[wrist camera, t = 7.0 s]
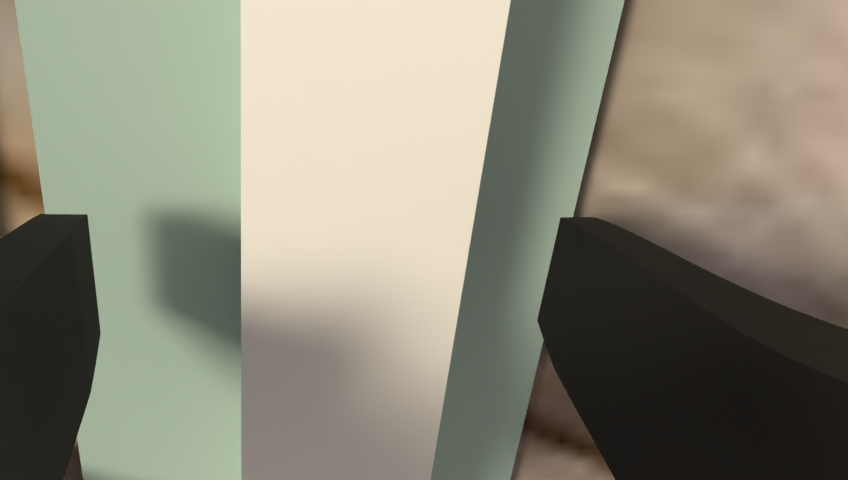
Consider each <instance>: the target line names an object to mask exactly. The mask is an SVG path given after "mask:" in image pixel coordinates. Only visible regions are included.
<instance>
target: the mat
mask: <svg viewBox="0 0 848 480" xmlns="http://www.w3.org/2000/svg"><path fill="white" fill-rule="evenodd" d="M624 1H625V0H511V2H510V8H509V14H508V20H507V26H506V32H505V38H504V44H503V50H502V56H501V62H500V67H499V73H498V79H497V85H496V91H495V97H494V103H493V109H492V115H491V121H490V127H489V133H488V139H487V145H486V151H485V157H484V163H483V169H482V175H481V181H480V187H479V193H478V199H477V205H476V211H475V217H474V223H473V229H472V235H471V241H470V247H469V253H468V259H467V265H466V271H465V277H464V283H463V289H462V295H461V301H460V307H459V313H458V319H457V325H456V331H455V337H454V343H453V349H452V355H451V361H450V367H449V373H448V379H447V385H446V391H445V396H444V402H443V408H442V414H441V420H440V426H439V432H438V438H437V444H436V450H435V456H434V462H433V468H432V474H431V480H510V479H511V475H512V471H513V467H514V462H515V458H516V454H517V450H518V446H519V441H520V437H521V433H522V429H523V425H524V421H525V416H526V412H527V408H528V404H529V400H530V395H531V391H532V387H533V383H534V379H535V374H536V370H537V366H538V362H539V358H540V353H541V349H542V345H543V341H544V339H543V336H542V333H541V330H540V327H539V324H538V321H537V319H538V314H539V310H540V305H541V301H542V297H543V292H544V288H545V284H546V279H547V275H548V270H549V266H550V262H551V257H552V253H553V249H554V244H555V240H556V235H557V231H558V227H559V222H560V218H561V217H573V215H574V211H575V207H576V202H577V198H578V194H579V190H580V186H581V181H582V177H583V173H584V169H585V165H586V160H587V156H588V152H589V148H590V144H591V139H592V135H593V131H594V127H595V123H596V119H597V114H598V110H599V106H600V102H601V98H602V93H603V89H604V85H605V81H606V77H607V72H608V68H609V64H610V60H611V56H612V51H613V47H614V43H615V39H616V35H617V30H618V26H619V22H620V18H621V14H622V9H623V5H624ZM15 7H16V14H17V21H18V28H19V35H20V42H21V49H22V56H23V63H24V70H25V77H26V84H27V91H28V98H29V105H30V112H31V119H32V126H33V133H34V140H35V147H36V154H37V161H38V168H39V175H40V182H41V189H42V196H43V203H44V210H45V214H87V216H88V225H89V233H90V242H91V251H92V260H93V269H94V278H95V287H96V296H97V305H98V314H99V323H100V332H101V335H100V341H99V347H98V354H97V360H96V366H95V372H94V378H93V383H92V389H91V393H90V396H89V400H88V403H87V406H86V409H85V413H84V416H83V419H82V422H81V425H80V428H79V431H78V435H77V441H78V448H79V455H80V462H81V469H82V476H83V480H241V0H15Z"/></svg>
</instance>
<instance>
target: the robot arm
mask: <svg viewBox="0 0 848 480" xmlns="http://www.w3.org/2000/svg"><path fill="white" fill-rule="evenodd" d="M537 321H538V324H539V327H540V330H541V333H542V336H543V339H544V342H545V345H546V348H547V350H548V353H549V355H550V358H551V361H552V363H553V366H554V368H555V371H556V372H557V374H558V376H559V378H560V380H561V382H562V384H563V386H564V388H565V389H566V391H567V393H568V395H569V397H570V399H571V400H572V402H573V404H574V406H575V408H576V410H577V411H578V413H579V415H580V417H581V419H582V420H583V422H584V424H585V426H586V427H587V429H588V431H589V433H590V435H591V436H592V438H593V440H594V442H595V444H596V445H597V447H598V449H599V451H600V453H601V454H602V456H603V458H604V460H605V461H606V463H607V465H608V467H609V469H610V470H611V472H612V474H613V476H614V478H615V480H848V329H845V328H842V327H839V326H836V325H833V324H830V323H827V322H825V321H822V320H819V319H817V318H814V317H812V316H809V315H806V314H804V313H801V312H798V311H796V310H793V309H790V308H788V307H785V306H783V305H781V304H778V303H776V302H773V301H771V300H769V299H766V298H764V297H762V296H760V295H757V294H755V293H753V292H751V291H749V290H746V289H744V288H742V287H740V286H738V285H735V284H733V283H731V282H729V281H727V280H725V279H723V278H721V277H719V276H716V275H714V274H712V273H710V272H708V271H706V270H704V269H702V268H700V267H698V266H696V265H694V264H692V263H690V262H688V261H686V260H684V259H682V258H681V257H679V256H677V255H675V254H673V253H671V252H669V251H667V250H665V249H663V248H661V247H659V246H657V245H655V244H653V243H651V242H649V241H647V240H645V239H643V238H641V237H639V236H637V235H635V234H633V233H631V232H629V231H627V230H625V229H623V228H621V227H618V226H616V225H614V224H611V223H609V222H606V221H604V220H601V219H598V218H592V217H561V218H560V222H559V227H558V231H557V235H556V240H555V244H554V249H553V253H552V257H551V262H550V266H549V270H548V275H547V279H546V284H545V288H544V292H543V297H542V301H541V305H540V310H539V314H538V319H537ZM100 335H101V332H100V323H99V314H98V305H97V296H96V287H95V278H94V269H93V260H92V251H91V242H90V233H89V225H88V216H87V214H40V215H38V216H36V217H34V218H32V219H31V220H29V221H27V222H26V223H24V224H23V225H21V226H20V227H18V228H17V229H15V230H14V231H12V232H11V233H9V234H8V235H6V236H5V237H3V238H2V239H0V480H63V477H64V474H65V471H66V468H67V465H68V462H69V459H70V456H71V453H72V450H73V447H74V444H75V441H76V438H77V435H78V431H79V428H80V425H81V422H82V419H83V416H84V413H85V409H86V406H87V403H88V400H89V396H90V393H91V389H92V383H93V378H94V372H95V366H96V360H97V354H98V347H99V341H100Z"/></svg>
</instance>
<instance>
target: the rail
mask: <svg viewBox="0 0 848 480" xmlns="http://www.w3.org/2000/svg"><path fill="white" fill-rule="evenodd" d="M510 2H511V0H241V480H431V474H432V468H433V462H434V456H435V450H436V444H437V438H438V432H439V426H440V420H441V414H442V408H443V402H444V396H445V391H446V385H447V379H448V373H449V367H450V361H451V355H452V349H453V343H454V337H455V331H456V325H457V319H458V313H459V307H460V301H461V295H462V289H463V283H464V277H465V271H466V265H467V259H468V253H469V247H470V241H471V235H472V229H473V223H474V217H475V211H476V205H477V199H478V193H479V187H480V181H481V175H482V169H483V163H484V157H485V151H486V145H487V139H488V133H489V127H490V121H491V115H492V109H493V103H494V97H495V91H496V85H497V79H498V73H499V67H500V62H501V56H502V50H503V44H504V38H505V32H506V26H507V20H508V14H509V8H510Z"/></svg>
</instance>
